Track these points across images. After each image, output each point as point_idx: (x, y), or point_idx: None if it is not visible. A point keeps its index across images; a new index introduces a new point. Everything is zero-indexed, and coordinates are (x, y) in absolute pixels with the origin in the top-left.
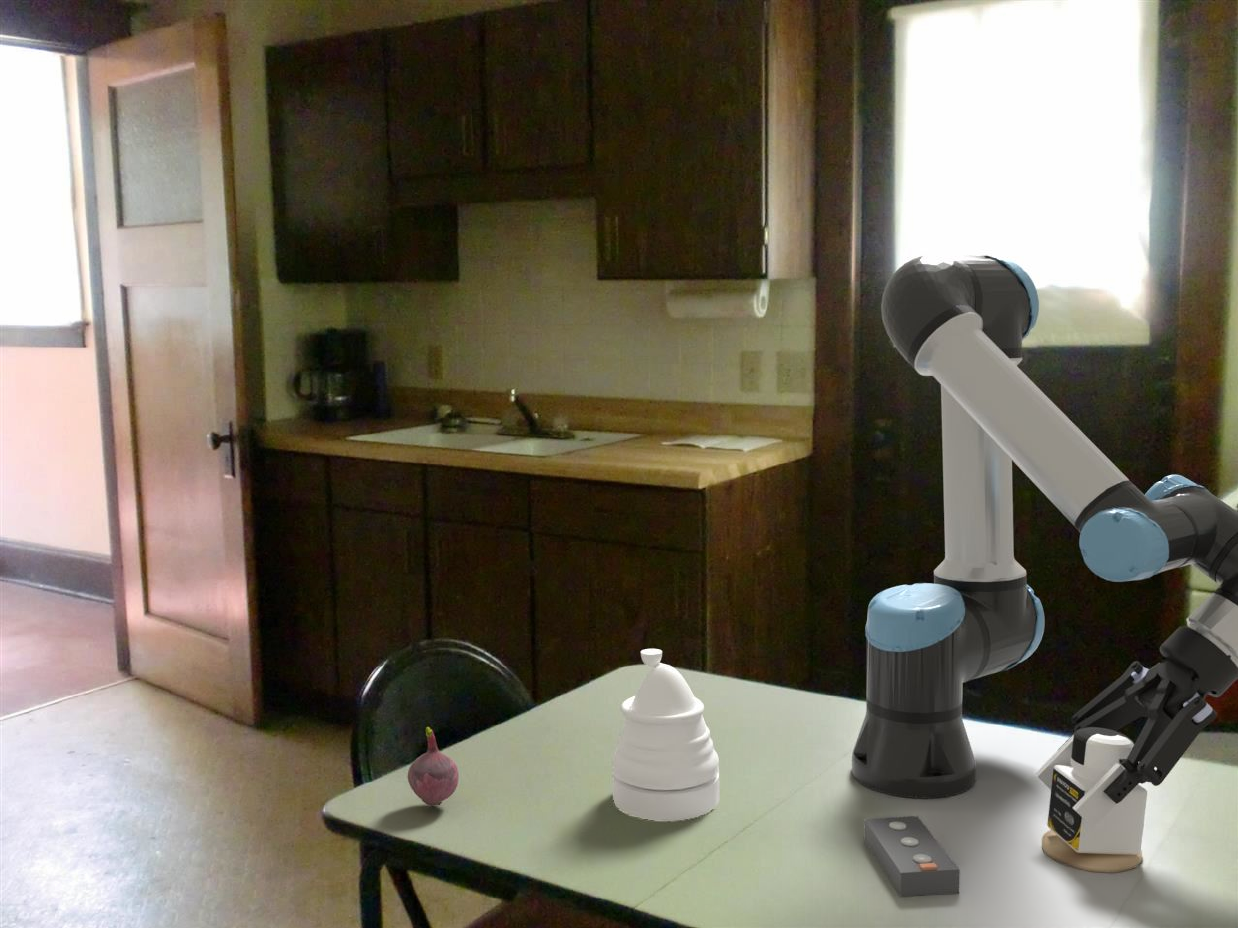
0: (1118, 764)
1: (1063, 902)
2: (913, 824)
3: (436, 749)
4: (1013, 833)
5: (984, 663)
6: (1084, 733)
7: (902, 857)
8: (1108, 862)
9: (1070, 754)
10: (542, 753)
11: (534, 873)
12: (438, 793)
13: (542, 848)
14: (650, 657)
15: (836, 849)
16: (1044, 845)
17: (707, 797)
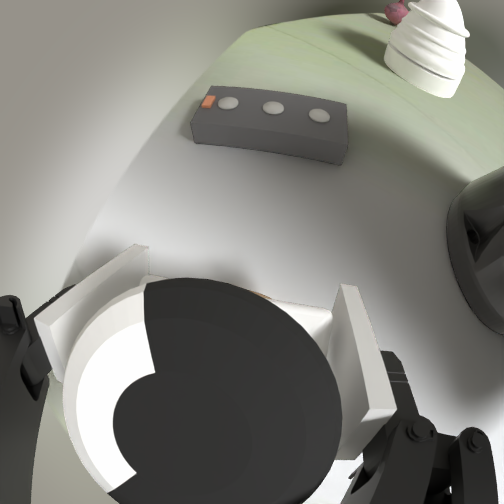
0: (40, 320)
1: (123, 228)
2: (322, 130)
3: (400, 2)
4: (329, 287)
5: None
6: (198, 313)
7: (241, 94)
8: None
9: (347, 372)
10: (469, 72)
11: (316, 18)
12: (385, 13)
13: (345, 25)
14: None
15: None
16: (257, 294)
17: (402, 66)
